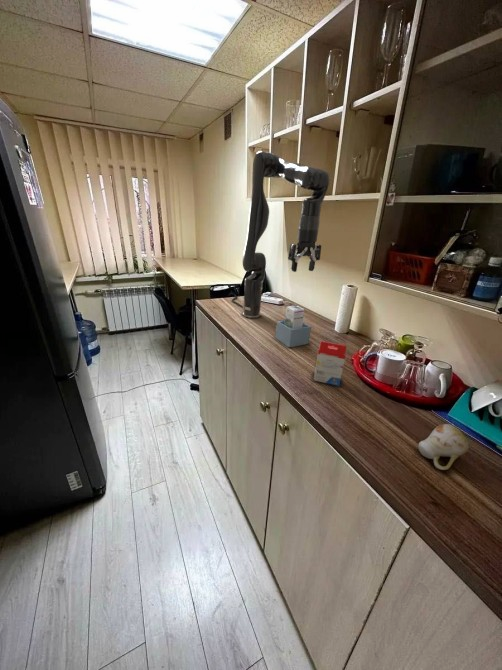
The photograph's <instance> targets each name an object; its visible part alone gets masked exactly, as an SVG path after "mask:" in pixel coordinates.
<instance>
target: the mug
mask: <svg viewBox="0 0 502 670" xmlns="http://www.w3.org/2000/svg"><path fill="white" fill-rule="evenodd" d="M418 451H419V453H420V454H421V455H422V456H423V457H425V458H426V459H429V460H433V466H434V467H435V468H436V469H438V470H440V471H447V470H449V469H450V468H451V467H452V465H453V463H454V462H455V461H456V460H457V459H458V458H459V457H460V456H463V455H464V454H466V453H467V452H468V451H469V443H468V441H467V439H466V437H465V435H464V434H463V433H462V431H460V430H459V429H458V428H456V427H455V426H454V425H452V424H449V423H444V424H440V425H438V426H436V427H435V428H434V429H433V430H432V431H431V433H430V434H429V436H428V437H427V438H425V439H424V440H421V441H420V442H419V443H418ZM440 457H449V461H448V463H447V464H446V465H445V466H442V465H440V463H439V459H440Z"/></svg>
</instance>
